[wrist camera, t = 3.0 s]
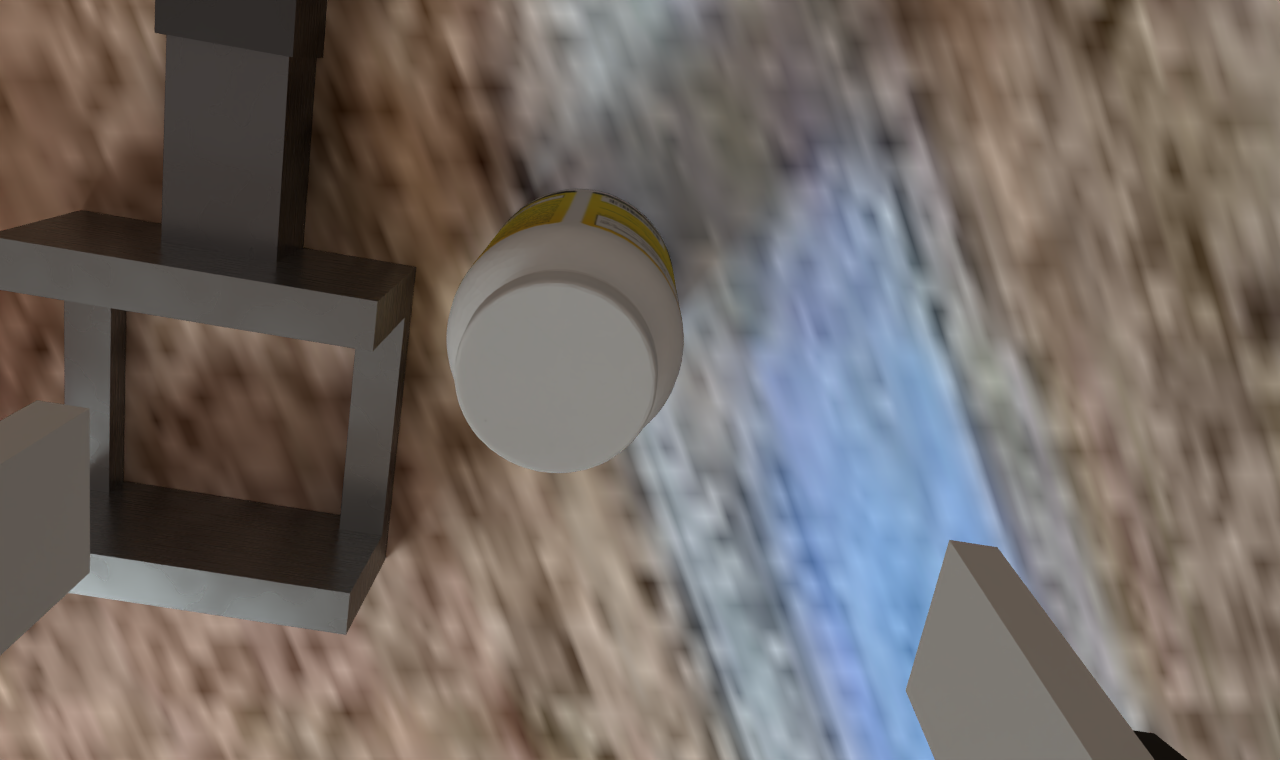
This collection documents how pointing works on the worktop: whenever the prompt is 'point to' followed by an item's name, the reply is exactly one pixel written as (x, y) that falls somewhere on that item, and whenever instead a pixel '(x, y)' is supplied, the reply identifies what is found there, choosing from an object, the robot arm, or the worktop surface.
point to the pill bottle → (566, 332)
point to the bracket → (227, 325)
